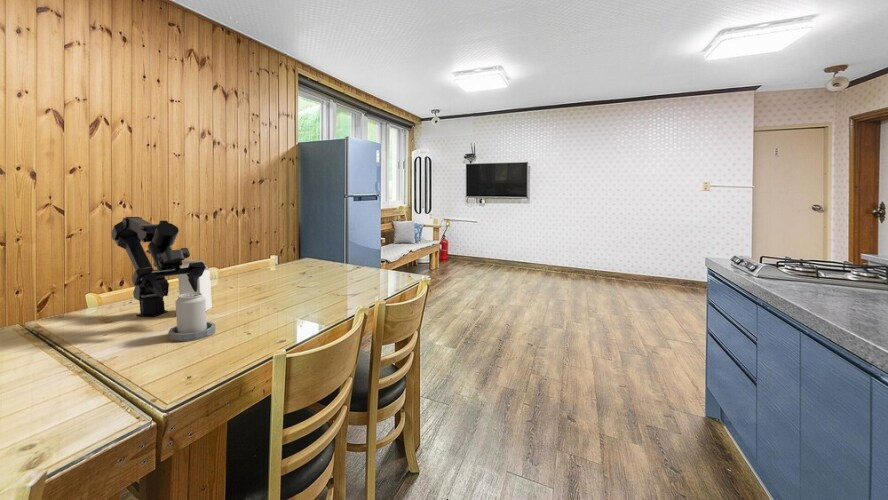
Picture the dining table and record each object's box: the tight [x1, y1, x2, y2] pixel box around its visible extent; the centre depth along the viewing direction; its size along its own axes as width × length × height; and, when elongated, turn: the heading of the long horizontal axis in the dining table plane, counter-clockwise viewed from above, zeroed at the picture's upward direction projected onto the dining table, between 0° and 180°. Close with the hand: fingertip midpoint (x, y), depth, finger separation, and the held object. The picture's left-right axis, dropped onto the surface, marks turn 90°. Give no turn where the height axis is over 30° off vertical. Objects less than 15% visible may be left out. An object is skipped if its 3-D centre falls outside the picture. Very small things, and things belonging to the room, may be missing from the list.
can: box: [175, 293, 208, 334], centre depth 113 cm, size 8×8×12 cm
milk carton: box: [177, 259, 213, 312], centre depth 134 cm, size 7×7×19 cm
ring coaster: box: [168, 321, 216, 342], centre depth 113 cm, size 12×12×2 cm
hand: (180, 294), depth 116 cm, fingers open, 9 cm apart
